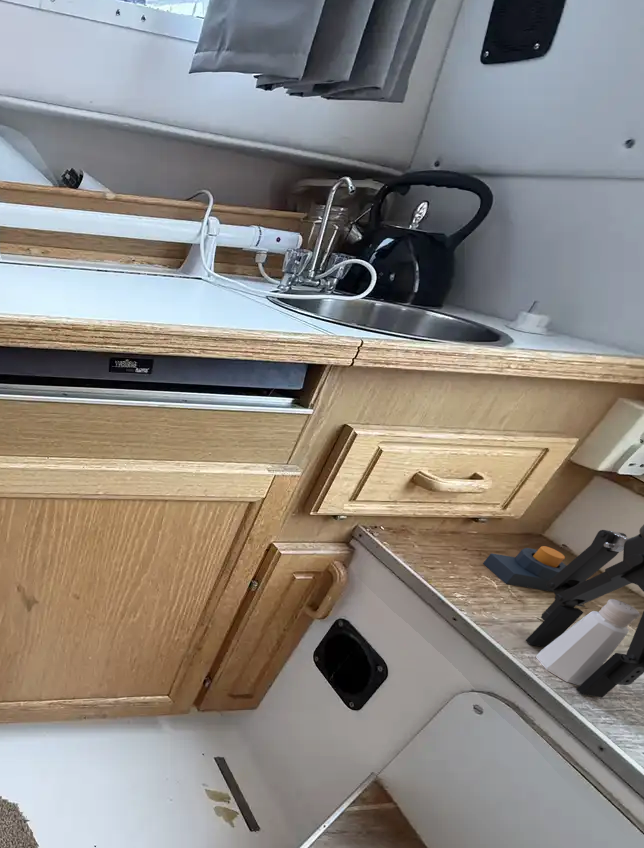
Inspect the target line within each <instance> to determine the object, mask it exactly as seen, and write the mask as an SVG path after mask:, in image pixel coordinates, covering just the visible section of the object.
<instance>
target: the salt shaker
mask: <svg viewBox="0 0 644 848" xmlns="http://www.w3.org/2000/svg"><path fill="white" fill-rule="evenodd" d="M639 618H641V612H639V610H637V608H635V607H634V606H632V605H631V604H630V603H627V602H625V601H622V600H620V599H616V598H610V599H608V600H607V601H606V604H604V605H603V606H602V607H601V609H600V610H599V611H596V610H592V611H590V612H589V613H587V614H586V615H584V616H583V617H582V618H581V619H579V620H578V621H577V622H576V623H573V624H572V625H571V626H570V627H569V628H568V629H567V630H566V631H565V632H564V633H563V634H561V635H560V636H559V637H558V638H556V639H555V640H554V641H552V642H551V643H550V644H549V645H547V646H546V647H542V649H541V650H540V651H538V653H537V654H536V656H535V657H536V659H537V660H538V662H539V663H540V664H541V665H542V666H543V668H544V669H545V670H546V671H547V672H549V673H551V674H552V675H554V676H556V677H558V678H559V679H561V680H563V681H564V682H566V683H569V684H573V685H577V686H580V685H581V684H582V683H583V682H584V681H585V680H586V679H588V678H589V677H590V676H591V675H592V674H593V673H594V672H595V671H596V670H597V669H598V668H600V667H601V666H602V665H603V664H604V663H605V662H606V661H607V660H608V659H609V658H610V657H611V656H612V655H613V652H615V650H616V649H617V648H618V646H619V645H620V644H621V643H622V641H623V640H624V639H625V638H626V636H627V635H628V633H629V632H630V629H629V628H628V627H629V625H631V624H632V623H633V622H634V621H635V620H636V619H639Z"/></svg>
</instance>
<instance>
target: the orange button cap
mask: <svg viewBox="0 0 644 848" xmlns="http://www.w3.org/2000/svg"><path fill="white" fill-rule="evenodd" d="M537 550H538V551H537V552H536V553H535V554H534V555H533V557H534V558H535V559H536V560H538V561H540V562H541V563H543V564H545V565H548V566H550V567H554V568H556V567H557V566H558V565H559V564H560V563H561V562H562V563H563V561H564V560H565V558H566V556H565V555H564V553H562V552H560V551H558V550H556V549H554V548H552V547H550V546H546V545H542V546H540V547H539V548H538V549H537Z"/></svg>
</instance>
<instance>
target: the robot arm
mask: <svg viewBox="0 0 644 848" xmlns="http://www.w3.org/2000/svg"><path fill="white" fill-rule="evenodd" d="M621 552H623V553H622V557H623V558H622V561H619V562H617V563H615V564H613V565H611V566H609V567H607V568H604V571H603V572H601V573H599V574H597V575H595V576H593V575H594V574H596V573H597V572H598V571H600V570H601V569H602V568H603V567H604V566H606V565H607V564H608V563H610V561H611V560H613V559H614V558H616V556H618V554H619V553H621ZM592 576H593V577H592ZM632 584H634V585H635V586H637V587H639V589H640V590H641V591H642V592H643V593H644V524H643V525H641V526H640V528H639V534H637V535H635V536H633V537H628V536H627V534H626V533H625V532H624V533H623V532H619V531H614V530H613V531H612V530H608V529H606V530H605V529H600V530H599V531H597V533H596V535H595V537H594V539H593V540H592V542H591V544H590V545H589V546H588V547H587V548H585V549H584V550H583V551H582V552H581V553H579V555H577V556H576V557H575V558H573V559H572V560H571V561H570V562H569V563H568V564H566V567H565V568H563V569H562V570H561V571H560V572H559V573H558V574H556V575H555V576H554V577H553V578H552V579H550V580H549V581H548V582H547V587H548V588H549V589H551V590H553V592H552V593H553V594H554V595H555V596H554V601H553V602H552V603H551V604H550V605H549V606H548V607H547V608H546V609H545V610H544V611H543V612H542V614H541V617H540V619H541V620H542V622H541V623H540V624H539V625H538V626H537V628H535V629H534V630H533V632H531V634H530V635H529V636H528V637H527V638H526V639H525V642H527V643H528V645H530V646H536V647H542V648H545V647H546V646H547V645H549V644H550V643H551V642H552V641H554V640H555V639H556V638H558V637H559V636H560V635H561V634H563V633H564V632H565V631H567V630H568V629H569V628H571V627H572V626H573V625H574V624H575V622H576V621H577V620H578V619H579V618H580V617H581V616H582V615H583V614H584V611H583V610H581V609H580V608H581V607H582V608H585V607H586V605H585V604H587V603H589V602H591V601H594V600H596V599H598V598H601V597H603V596H605V595H607V594H610V593H612V592H614V591H617V590H619V589H621V588H623V587H625V586H628V585H632ZM578 607H580V608H578ZM643 674H644V611H643V612H642V615H641V616H640V619H639V622H638V624H637V626H636V629H635V632H634V635H633V637H632V639H631V641H630V644H629V647H628V649H627V652H626V653H621V652H615V653H613V654H612V655H611V656H609V657H608V658H607V660H606V661H605V662H604V663H603V665H602V666H601V667H600V668H598V669H597V670H596V671H595V672H594V673H593V674H592V675H591V676H590V677H589V678H588V679H586V680H585V681H584V682H583V683H582V684H581V685H578V687H576V691H577V692H578V693H579V694H580V695H583V696H589V697H595V698H603V697H605V696H606V695H607V694H608V693H609V692H610V691H611V690H613V689H614V688H615V687H616V686H617V685H622V686H629V685H631V684H633V683H634V682H635V681H636V680H637V679H638V678H639V677H641V676H642V675H643Z"/></svg>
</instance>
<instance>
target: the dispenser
mask: <svg viewBox="0 0 644 848" xmlns="http://www.w3.org/2000/svg"><path fill="white" fill-rule="evenodd" d="M537 551H538V549H535V548H530V547H524V548H523V549H521V550H520V551H519V552H518V554H516V556H510V555H505V554H497V553H492V552H491V553H489V555H488V556H487V557H486V559H485V560H484V561H483V563H482V564H483V565H484V566H485V567H486V568H487V569H488V570H489V571H491V572H492V573H493V574H494V575H495V576H496V577H497V578H499V579H500V580H501V581H502V582H503V583H504V584H505V585H510V586H515V587H521V588H522V587H523V588H529V589H533V590H534V589H535V590H539V591H545V592H546V591H547V592H552V593H554V592H553V590H551V589H549V588H548V587H547V582H548V581H549V580H550V579H552V578H553V577H554V576H555V575H556V574H558V573H559V572H560V571H561V570H562V569H563V568H565V567H566V566H567V564H565V563H564V562H563V561H562V562H561V563H560V564H559V565H558V566H557V567H556V568H554V567H550V566H548V565H545V564H543V563H541V562H540V561H538V560H536V559H535V558H534V557H533V555H534V554H535V553H536V552H537Z"/></svg>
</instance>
